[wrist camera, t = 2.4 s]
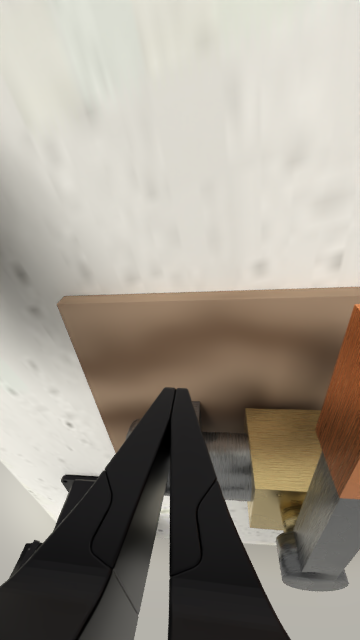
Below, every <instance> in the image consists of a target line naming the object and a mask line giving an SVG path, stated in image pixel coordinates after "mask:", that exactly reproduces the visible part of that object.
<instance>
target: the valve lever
mask: <svg viewBox="0 0 360 640" xmlns="http://www.w3.org/2000/svg"><path fill="white" fill-rule="evenodd" d="M315 431H316V434H317V437H318V440H319V443H320V445H321V448H322V453H321V455H320V458H319V461H318V464H317V466H316V469H315V472H314V474H313V477H312V480H311V483H310V485H309V488H308V491H307V494H306V496H305V499H304V502H303V504H302V507H301V510H300V513H299V515H298V518H297V521H296V524H295V526H294V529H293V531H289V532H285V533H282V534H280V535H279V536H278V537H277V538H276V544H277V550H278V556H279V562H280V569H281V575H282V581H283V582H284V583H285V584H286V585H289V586H291V587H294V588H297V589H302V590H309V591H333V590H339V589H342V588H345V587H347V586H348V584H349V583H348V580H347V577H346V573H345V570H344V568H345V567H346V566H347V564H348V563H349V562H350V561H351V559H352V558H353V557H354V556H355V554H356V553H357V552H358V551H359V549H360V304H355V305H354V308H353V311H352V314H351V317H350V320H349V324H348V327H347V330H346V333H345V336H344V339H343V343H342V346H341V349H340V352H339V355H338V358H337V362H336V365H335V368H334V371H333V374H332V377H331V381H330V384H329V387H328V390H327V393H326V396H325V400H324V403H323V406H322V409H321V412H320V415H319V419H318V422H317V425H316V428H315Z"/></svg>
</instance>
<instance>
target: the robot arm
mask: <svg viewBox="0 0 360 640" xmlns="http://www.w3.org/2000/svg"><path fill="white" fill-rule="evenodd" d="M169 468H170V580H169V625H168V626H169V627H168V640H291V639H290V638H289V636H288V635H287V633H286V631H285V630H284V628H283V626H282V624H281V623H280V621H279V619H278V617H277V615H276V613H275V611H274V610H273V608H272V605H271V604H270V602H269V599H268V597H267V595H266V594H265V592H264V589H263V587H262V585H261V583H260V580H259V579H258V576H257V574H256V572H255V570H254V567H253V565H252V563H251V561H250V559H249V556H248V555H247V552H246V550H245V548H244V546H243V543H242V541H241V539H240V537H239V535H238V532H237V530H236V527H235V525H234V523H233V520H232V518H231V516H230V513H229V510H228V508H227V505H226V502H225V499H224V497H223V494H222V491H221V488H220V485H219V482H218V481H217V476H216V473H215V470H214V467H213V464H212V461H211V458H210V455H209V452H208V449H207V445H206V442H205V439H204V436H203V433H202V430H201V427H200V424H199V421H198V418H197V415H196V412H195V409H194V406H193V403H192V400H191V397H190V394H189V391H188V389H187V388H177V389H176V388H173V387H165V388H164V389H163V390H162V391H161V393H160V394H159V395H158V397H157V398H156V399H155V401H154V402H153V403H152V405H151V406H150V408H149V409H148V410H147V412H146V413H145V414H144V416H143V417H142V418H141V420H140V421H139V423H138V424H137V425H136V427H135V428H134V429H133V431H132V432H131V434H130V435H129V436H128V438H127V439H126V440H125V442H124V443H123V444H122V446H121V447H120V449H119V450H118V451H117V453H116V454H115V455H114V457H113V458H112V459H111V461H110V462H109V464H108V465H107V466H106V468H105V471H103V472H102V473H101V474H100V476H99V477H98V478H94V477H78V476H63V477H62V479H61V482H62V483H63V485H64V486H65V488H66V489H67V491H68V492H69V493H68V496H67V498H66V501H65V503H64V505H63V508H62V510H61V513H60V515H59V518H58V520H57V523H56V526H55V528H54V531H53V533H52V534H51V535H50V536H49V537H48V538H47V539H46V540H45V542H44V543H40V542H39V541H37V540H34V542H33V543H27V544H26V545H25V547H24V549H23V551H22V553H21V555H20V558H19V560H18V562H17V564H16V566H15V568H14V570H13V572H12V574H11V576H10V578H9V579H8V580H7V581H6V582H5V583H3V584H2V585H1V586H0V640H134V636H135V631H136V626H137V621H138V614H139V611H140V606H141V602H142V597H143V592H144V587H145V583H146V577H147V572H148V568H149V564H150V558H151V554H152V549H153V544H154V540H155V535H156V530H157V525H158V521H159V516H160V511H161V506H162V501H163V497H164V492H165V487H166V482H167V478H168V473H169Z"/></svg>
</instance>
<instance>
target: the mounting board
mask: <svg viewBox="0 0 360 640" xmlns="http://www.w3.org/2000/svg"><path fill="white" fill-rule="evenodd" d="M355 304H360V287H340V288H309V289H277V290H246V291H214V292H183V293H151V294H120V295H88V296H64V297H63V298H62V299H61V300H60V301H59V302H58V303H57V306H58V309H59V311H60V314H61V316H62V319H63V321H64V324H65V326H66V329H67V332H68V334H69V337H70V339H71V342H72V344H73V347H74V349H75V352H76V354H77V357H78V359H79V362H80V364H81V367H82V369H83V372H84V374H85V377H86V379H87V382H88V384H89V387H90V389H91V392H92V394H93V397H94V399H95V402H96V405H97V407H98V410H99V412H100V415H101V417H102V420H103V422H104V425H105V427H106V430H107V432H108V435H109V437H110V440H111V442H112V445H113V447H114V450H115V452H116V453H117V451H118V450H119V449H120V447H121V446H122V444H123V443H124V442H125V439H126V436H127V433H128V430H129V428H130V426H131V424H132V422H133V421H134V420H135V419H141V418H142V417H143V416H144V414H145V413H146V412H147V410H148V409H149V408H150V406H151V405H152V403H153V402H154V401H155V399H156V398H157V397H158V395H159V394H160V393H161V391H162V390H163V389H164V388H165V387H173V388H176V389H177V388H187V389H188V391H189V394H190V397H191V400H192V401H200V409H201V423H202V432H226V433H244V420H245V408H254V409H293V410H321V409H322V406H323V403H324V400H325V396H326V393H327V390H328V387H329V384H330V381H331V377H332V374H333V371H334V368H335V365H336V362H337V358H338V355H339V352H340V349H341V346H342V343H343V339H344V336H345V333H346V330H347V327H348V324H349V320H350V317H351V314H352V311H353V308H354V305H355Z"/></svg>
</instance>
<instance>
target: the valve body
mask: <svg viewBox="0 0 360 640" xmlns="http://www.w3.org/2000/svg"><path fill="white" fill-rule="evenodd" d="M192 403H193V406H194V409H195V412H196V415H197V418H198V421H199V424H200V427H201V430H202V423H201V409H200V401H192ZM320 412H321V410H293V409H254V408H245V420H244V433H226V432H202V433H203V436H204V439H205V442H206V445H207V449H208V452H209V455H210V458H211V461H212V464H213V467H214V470H215V473H216V476H217V481H218V482H219V485H220V488H221V491H222V494H223V497H224V499H225V500H236V501H247V503H248V513H249V524H250V528H261V529H273V530H284V533H285V532H289V531H293V529H294V526H295V524H296V521H297V518H298V515H299V513H300V510H301V507H302V504H303V502H304V499H305V496H306V494H307V491H308V488H309V485H310V483H311V480H312V477H313V474H314V472H315V469H316V466H317V464H318V461H319V458H320V455H321V453H322V448H321V445H320V443H319V440H318V437H317V434H316V431H315V428H316V425H317V422H318V419H319V415H320ZM140 420H141V419H135V420H134V421H133V422H132V424H131V426H130V428H129V430H128V433H127V436H126V439H127V438H128V436H129V435H130V434H131V432H132V431H133V429H134V428H135V427H136V425H137V424H138V423H139V421H140ZM126 439H125V440H126ZM164 495H165V496H170V468H169V473H168V478H167V482H166V487H165V492H164Z"/></svg>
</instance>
